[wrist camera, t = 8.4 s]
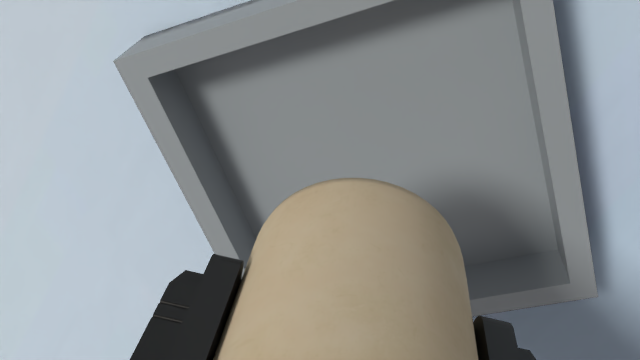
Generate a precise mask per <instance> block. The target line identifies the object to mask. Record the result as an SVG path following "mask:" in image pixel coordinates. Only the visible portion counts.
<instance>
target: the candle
mask: <svg viewBox="0 0 640 360" xmlns="http://www.w3.org/2000/svg"><path fill="white" fill-rule="evenodd" d="M213 360H478V354H477V347H476V340H475V333H474V326H473V319H472V312H471V305H470V298H469V291H468V285H467V278H466V272H465V267H464V261H463V256H462V253H461V249H460V246H459V244H458V242H457V239H456V237H455V235H454V233H453V231H452V229H451V227H450V226H449V224H448V223H447V221H446V220H445V218H444V217H443V216H442V215H441V214H440V213H439V212H438V211H437V210H436V209H435V208H434V207H433V206H432V205H431V204H429V203H428V202H427V201H426V200H424V199H423V198H421V197H419V196H418V195H416V194H415V193H413V192H411V191H409V190H407V189H405V188H403V187H400V186H397V185H394V184H391V183H388V182H384V181H379V180H375V179H367V178H339V179H331V180H327V181H322V182H318V183H315V184H313V185H310V186H307V187H305V188H303V189H301V190H299V191H297V192H295V193H293V194H292V195H291V196H289V197H288V198H286V199H285V200H284V201H283V202H282V203H280V204H279V205H278V206H277V207H276V208H275V209H274V211H273V212H272V213H271V215H270V216H269V217H268V219H267V220H266V221H265V223H264V224H263V226H262V228H261V230H260V232H259V234H258V236H257V239H256V241H255V244H254V246H253V249H252V251H251V254H250V257H249V260H248V262H247V265H246V268H245V271H244V274H243V276H242V279H241V282H240V285H239V288H238V290H237V293H236V296H235V299H234V302H233V304H232V307H231V310H230V313H229V316H228V318H227V321H226V324H225V327H224V330H223V332H222V335H221V338H220V341H219V344H218V346H217V349H216V352H215V355H214V358H213Z"/></svg>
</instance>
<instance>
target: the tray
mask: <svg viewBox="0 0 640 360" xmlns="http://www.w3.org/2000/svg"><path fill="white" fill-rule="evenodd" d="M113 62H114V63H115V65H116V67H117V69H118V71H119V73H120V75H121V77H122V79H123V81H124V82H125V84H126V86H127V88H128V90H129V92H130V94H131V96H132V98H133V99H134V101H135V103H136V105H137V107H138V109H139V111H140V113H141V115H142V117H143V118H144V120H145V122H146V124H147V126H148V128H149V130H150V132H151V134H152V135H153V137H154V139H155V141H156V143H157V145H158V147H159V149H160V151H161V153H162V154H163V156H164V158H165V160H166V162H167V164H168V166H169V168H170V170H171V172H172V173H173V175H174V177H175V179H176V181H177V183H178V185H179V187H180V189H181V190H182V192H183V194H184V196H185V198H186V200H187V202H188V204H189V206H190V208H191V209H192V211H193V213H194V215H195V217H196V219H197V221H198V223H199V225H200V226H201V228H202V230H203V232H204V234H205V236H206V238H207V240H208V242H209V244H210V245H211V247H212V249H213V251H214V253H215V254H217V255H221V256H226V257H230V258H234V259H239V260H243V261H244V266H243V272H242V276H243V274H244V271H245V268H246V265H247V262H248V260H249V257H250V254H251V251H252V249H253V246H254V244H255V241H256V239H257V236H258V234H259V232H260V230H261V228H262V226H263V224H264V223H265V221H266V220H267V219H268V217H269V216H270V215H271V213H272V212H273V211H274V209H275V208H276V207H277V206H278V205H279V204H280V203H282V202H283V201H284V200H285V199H286V198H288V197H289V196H291V195H292V194H293V193H295V192H297V191H299V190H301V189H303V188H305V187H307V186H310V185H313V184H315V183H318V182H322V181H327V180H331V179H339V178H367V179H375V180H379V181H384V182H388V183H391V184H394V185H397V186H400V187H403V188H405V189H407V190H409V191H411V192H413V193H415V194H416V195H418V196H419V197H421V198H423V199H424V200H426V201H427V202H428V203H429V204H431V205H432V206H433V207H434V208H435V209H436V210H437V211H438V212H439V213H440V214H441V215H442V216H443V217H444V218H445V220H446V221H447V223H448V224H449V226H450V227H451V229H452V231H453V233H454V235H455V237H456V239H457V242H458V244H459V246H460V249H461V253H462V256H463V261H464V267H465V272H466V278H467V285H468V291H469V298H470V305H471V312H472V317H473V316H479V315H486V314H492V313H498V312H505V311H511V310H517V309H524V308H530V307H537V306H543V305H549V304H556V303H562V302H568V301H575V300H581V299H587V298H594V297H598V294H597V287H596V281H595V274H594V268H593V261H592V254H591V248H590V241H589V235H588V228H587V222H586V215H585V208H584V202H583V195H582V189H581V182H580V176H579V169H578V162H577V156H576V149H575V143H574V136H573V129H572V123H571V116H570V110H569V103H568V97H567V90H566V83H565V77H564V70H563V64H562V57H561V51H560V44H559V37H558V31H557V24H556V18H555V11H554V5H553V0H251V1H248V2H245V3H242V4H239V5H236V6H233V7H230V8H227V9H224V10H222V11H219V12H216V13H213V14H210V15H207V16H204V17H201V18H198V19H195V20H192V21H189V22H186V23H183V24H180V25H177V26H174V27H171V28H168V29H165V30H162V31H159V32H156V33H153V34H150V35H147V36H144V37H143V38H142V39H141V40H139V41H138V42H137V43H136V44H134V45H133V46H132V47H130V48H129V49H128V50H127V51H125V52H124V53H123V54H122V55H120V56H119V57H118V58H117V59H115V60H114V61H113ZM241 279H242V278H241Z"/></svg>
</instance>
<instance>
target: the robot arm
mask: <svg viewBox="0 0 640 360" xmlns="http://www.w3.org/2000/svg"><path fill="white" fill-rule="evenodd" d="M243 266H244V261H243V260H239V259H234V258H230V257H226V256H221V255H217V254H213V255H212V257H211V259H210V261H209V263H208V265H207V268H206V270H205V272H204V274H200V273H196V272H191V271H187V270H185V271H184V272H183V273H181V274H180V275H179V276H178V277H176V278H175V279H174V280H173V281H171V282H170V283H169V285H168V286H167V288H166V290H165V292H164V294H163V296H162V298H161V300H160V303H159V304H158V306H157V308H156V310H155V312H154V314H153V317H152V318H151V320H150V321H149V323H148V325H147V327H146V329H145V331H144V333H143V335H142V337H141V339H140V341H139V343H138V345H137V347H136V349H135V351H134V353H133V355H132V356H131V358H130V360H213V358H214V355H215V352H216V349H217V346H218V344H219V341H220V338H221V335H222V332H223V330H224V327H225V324H226V321H227V318H228V316H229V313H230V310H231V307H232V304H233V302H234V299H235V296H236V293H237V290H238V288H239V285H240V282H241V278H242V272H243ZM473 326H474V333H475V340H476V347H477V354H478V360H536V359H535V357H534V356H533V355H532V353H531V352H530V350H525V349H521V348H518V347H517V343H516V338H515V334H514V329H513V326H512V324H511V323H508V322H504V321H499V320H495V319H491V318H487V317H482V316H478V317H477V318H476V319H475V320H474V322H473Z"/></svg>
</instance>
